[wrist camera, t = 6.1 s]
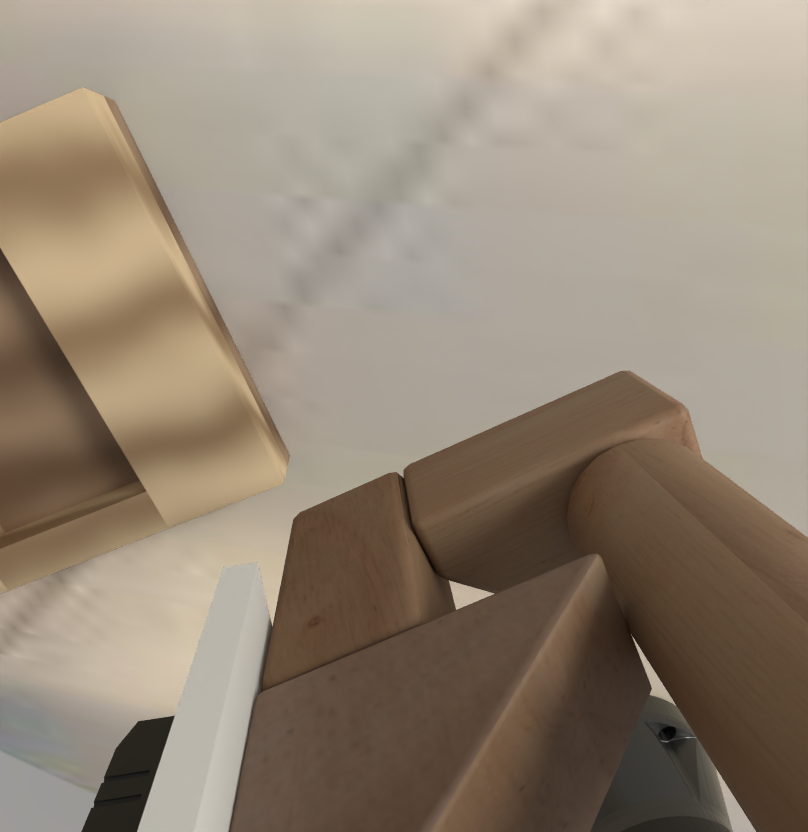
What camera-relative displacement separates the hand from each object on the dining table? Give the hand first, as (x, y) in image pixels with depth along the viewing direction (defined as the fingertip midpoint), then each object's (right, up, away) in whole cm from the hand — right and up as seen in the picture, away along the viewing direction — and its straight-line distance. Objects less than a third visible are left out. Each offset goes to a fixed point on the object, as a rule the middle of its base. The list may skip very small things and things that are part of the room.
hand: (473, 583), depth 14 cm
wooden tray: (-24, +6, +21) cm, 32 cm away
